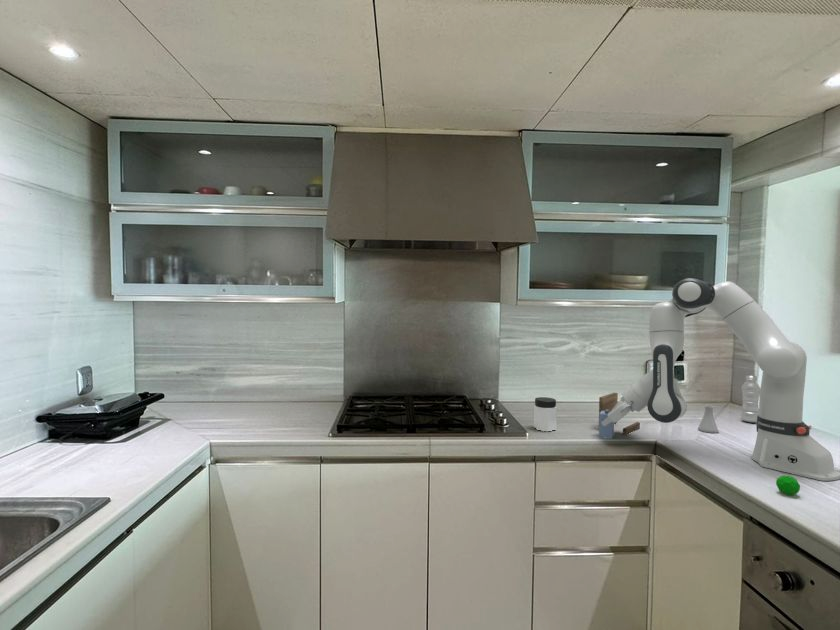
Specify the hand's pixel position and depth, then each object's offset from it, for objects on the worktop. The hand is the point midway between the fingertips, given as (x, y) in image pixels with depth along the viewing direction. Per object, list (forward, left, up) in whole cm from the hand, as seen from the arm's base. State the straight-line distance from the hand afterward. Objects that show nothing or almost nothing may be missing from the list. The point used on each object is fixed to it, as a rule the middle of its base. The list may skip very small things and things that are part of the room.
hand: (604, 421), depth 174 cm
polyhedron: (-59, 0, -6) cm, 59 cm away
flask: (-15, -43, -6) cm, 46 cm away
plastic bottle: (-16, -73, -6) cm, 75 cm away
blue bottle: (-1, 0, -6) cm, 6 cm away
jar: (+17, +14, -6) cm, 23 cm away
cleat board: (+3, -13, -6) cm, 15 cm away
